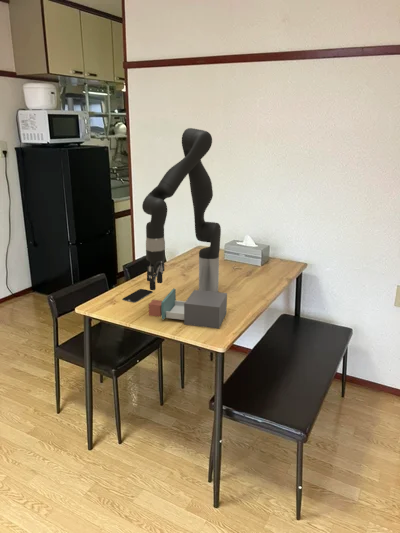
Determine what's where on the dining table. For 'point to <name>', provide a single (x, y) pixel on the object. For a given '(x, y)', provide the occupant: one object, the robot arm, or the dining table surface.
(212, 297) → the housing
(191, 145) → the robot arm
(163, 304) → the drawer
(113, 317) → the dining table surface
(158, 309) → the block
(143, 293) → the smartphone
